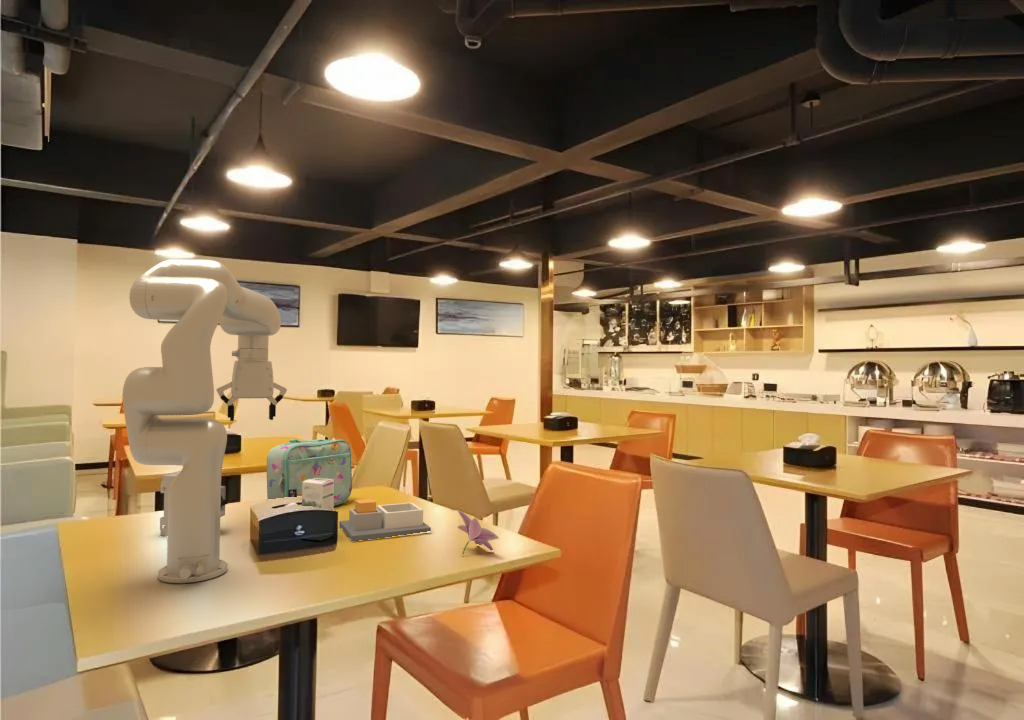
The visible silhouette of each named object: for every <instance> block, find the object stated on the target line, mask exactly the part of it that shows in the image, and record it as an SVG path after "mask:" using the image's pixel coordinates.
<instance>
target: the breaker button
mask: <svg viewBox="0 0 1024 720" xmlns="http://www.w3.org/2000/svg"><path fill="white" fill-rule="evenodd" d="M376 508H377V501H376V500H374V499H373V498H363V499H355V501H354V509H355V512H356V513H357V514H361V513H372V512H376Z"/></svg>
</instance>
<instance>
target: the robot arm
mask: <svg viewBox="0 0 1024 720" xmlns="http://www.w3.org/2000/svg"><path fill="white" fill-rule="evenodd" d="M128 294H129V305H130V308H131V309H132V311H133V312H134V313H135V314H136V315H137V316H138V317H141V318H142V319H144V320H145V319H146V320H155V321H156V320H159V321H160V320H161V321H162V320H163V321H164V320H165V321H168V320H170V321H177V322H175V324H174V325H173V327H171V328H170V329H169V331H168V332H167V334H166V335H165V337H164V338H163V340H162V341H161V344H160V353H161V362H162V363H161V365H162V366H144V367H139V368H136V369H134V370H132V371H131V372H130V373H129V374H128V375H126V378H125V381H124V383H123V387H122V394H121V395H122V397H121V398H122V407H123V414H124V420H125V427H126V434H127V435H126V436H127V441H128V447H129V451H130V454H131V456H132V458H133V460H134V461H135V462H136V463H138V464H141V465H146V466H147V465H148V466H182V468H181V470H180V471H181V472H180V473H179V474H178V475H177V476H176V477H175V478H174V480H173V481H172V483H171V485H170V487H169V493H168V537H167V539H166V540H167V545H166V546H167V548H166V550H167V553H166V565H165V566H163V567H162V568H160V569H158V571H157V579H158V580H159V581H161V582H162V583H163V582H164V583H169V584H186V583H187V584H188V583H195V582H196V583H197V582H202V581H207V580H212V579H214V578H216V577H217V578H218V577H219V576H221V575H223V574H224V573H226V571H227V570H228V567H229V566H228V562H227V561H225V560H222V559H220V555H221V553H220V551H221V550H220V549H221V548H220V546H221V545H220V544H221V543H220V542H221V517H220V508H221V486H222V473H223V464H224V458H225V454H226V453H225V452H226V448H227V442H228V433H227V432H228V431H227V429H226V427H225V425H224V424H223V423H222V422H221V421H218V420H216V419H214V418H208V417H207V418H206V417H160V416H194V415H195V416H196V415H201V414H204V413H207V412H208V411H210V410H211V409H212V407H213V405H214V402H215V401H214V400H215V390H214V376H213V366H212V355H211V345H212V340H213V336H214V334H215V332H216V329H217V327H218V325H219V326H220V328H221V330H222V331H223V332H224V333H226V334H227V335H230V336H231V335H232V336H237V349H236V350H232V351H231V357H236V358H237V359H236V360H235V361H234V364H233V369H232V374H231V382H229V383H226V384H224V385H222V386H219V387H217V388H216V392H217V394H218V396H219V398H220V400H222V402H224V403H225V404H226V405H227V419H229V418H230V419H229V421H230V422H233V421H235V405H234V403H235V402H236V401H237V399H267V400H268V401H269V405H268V419H269V420H270V421H273V420H274V417H275V418H276V413H277V412H276V411H277V408H276V407H277V405H278V404H279V403H280V401H282V399H283V398H284V396H285V394H286V393H287V388H286V387H285V386H282V385H280V384H278V383H277V382H274V370H273V364H272V361H269V340H270V339H269V337H270V336H274V335H276V334H277V333H278V332H279V331H280V328H281V325H282V321H281V320H282V318H281V313H280V311H279V309H278V307H277V306H276V304H275V302H274V301H273V300H272V299H271V298H270V297H268V296H266V295H264V294H261V293H259V292H257V291H254V290H252V289H249V288H247V287H244V286H241V285H240V284H239V282H238V281H237V279H236V278H235V277H234V275H233V274H232V273H231V272H230V270H229V269H228V268H227V266H226V265H224V264H223V263H222V262H220V261H217V260H213V259H202V258H200V259H198V258H197V259H196V258H168V259H165V260H162V261H160V262H159V263H156V264H155V265H154V266H152V267H151V268H149V269H147V270H146V271H145V272H143V273H141V275H139V276H138V277H137V278H136V279H135V280H134V282H133V283H132V285H131V287H130V290H129V293H128ZM229 389H231V392H230V393H231V396H230V398H228V397H227V396H226V394H225V393H224V392H225V391H226V390H229ZM275 389H276V390H278V391H279V394H278V395H276V397H275V398H274V390H275Z"/></svg>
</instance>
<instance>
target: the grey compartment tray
mask: <svg viewBox="0 0 1024 720" xmlns="http://www.w3.org/2000/svg"><path fill="white" fill-rule="evenodd" d="M348 510H349V512H348V514H349V515H348V516H349V518H348V519H347V520H339V526H340V527H341V528H342V529H343V531H344V532H345V533H346V534H347V536H348V537H349V538H350V539H351V540H350V539H349V538H348V537H347V536H346V537H347V538H348V539H349V540H350V542H351V541H359V540H368V539H377V538H385V537H392V536H398V535H407V534H413V533H420V532H427V531H431V530H432V527H431V526H429V525H428V524H426V523H425V522H424V509H422V508H421V507H420V506H418V505H417V504H415V503H414V502H402V503H393V504H392V503H390V504H389V503H388V504H379V505H377V504H376V512H372V513H361V514H357V513H356V512H355V508H349V509H348ZM339 526H338V527H339ZM340 527H339V528H340ZM341 528H340V529H341ZM342 529H341V530H342ZM343 531H342V532H343ZM344 532H343V533H344ZM431 532H432V531H431ZM345 533H344V534H345ZM346 534H345V535H346ZM377 540H378V539H377ZM368 541H369V540H368ZM359 542H360V541H359Z"/></svg>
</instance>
